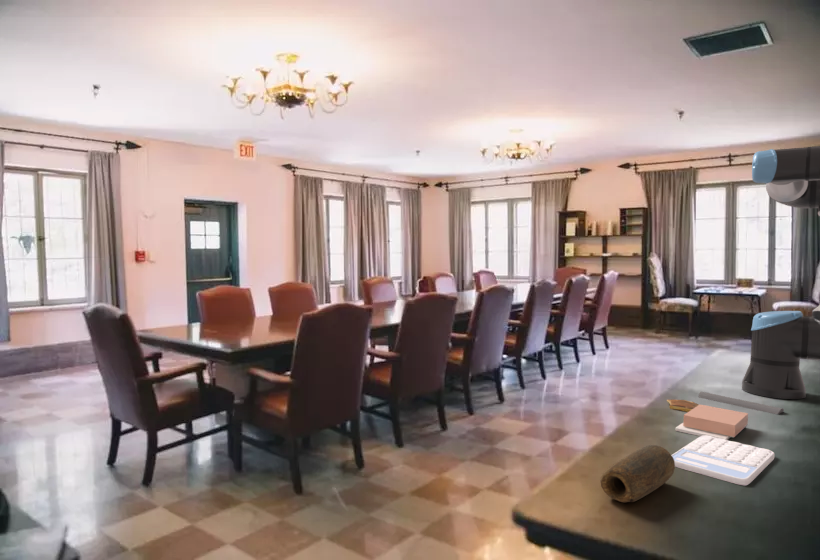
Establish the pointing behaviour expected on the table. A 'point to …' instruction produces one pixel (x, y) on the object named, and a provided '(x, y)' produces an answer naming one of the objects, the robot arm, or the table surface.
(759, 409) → the gray half cylinder
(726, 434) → the terracotta tile
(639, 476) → the stone weight
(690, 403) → the shard
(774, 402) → the table surface
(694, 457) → the calculator
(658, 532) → the table surface
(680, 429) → the white rectangular slab
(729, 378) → the table surface
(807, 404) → the table surface
